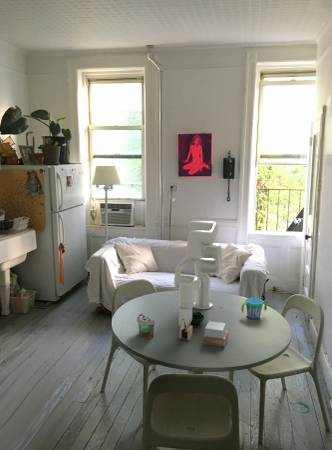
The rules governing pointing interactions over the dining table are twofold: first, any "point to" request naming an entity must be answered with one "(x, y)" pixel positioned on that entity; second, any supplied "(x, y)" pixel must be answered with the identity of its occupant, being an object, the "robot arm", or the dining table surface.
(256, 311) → the snack cup
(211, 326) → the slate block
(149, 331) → the food container
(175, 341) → the dining table surface
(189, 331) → the terracotta cube
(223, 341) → the walnut slab
